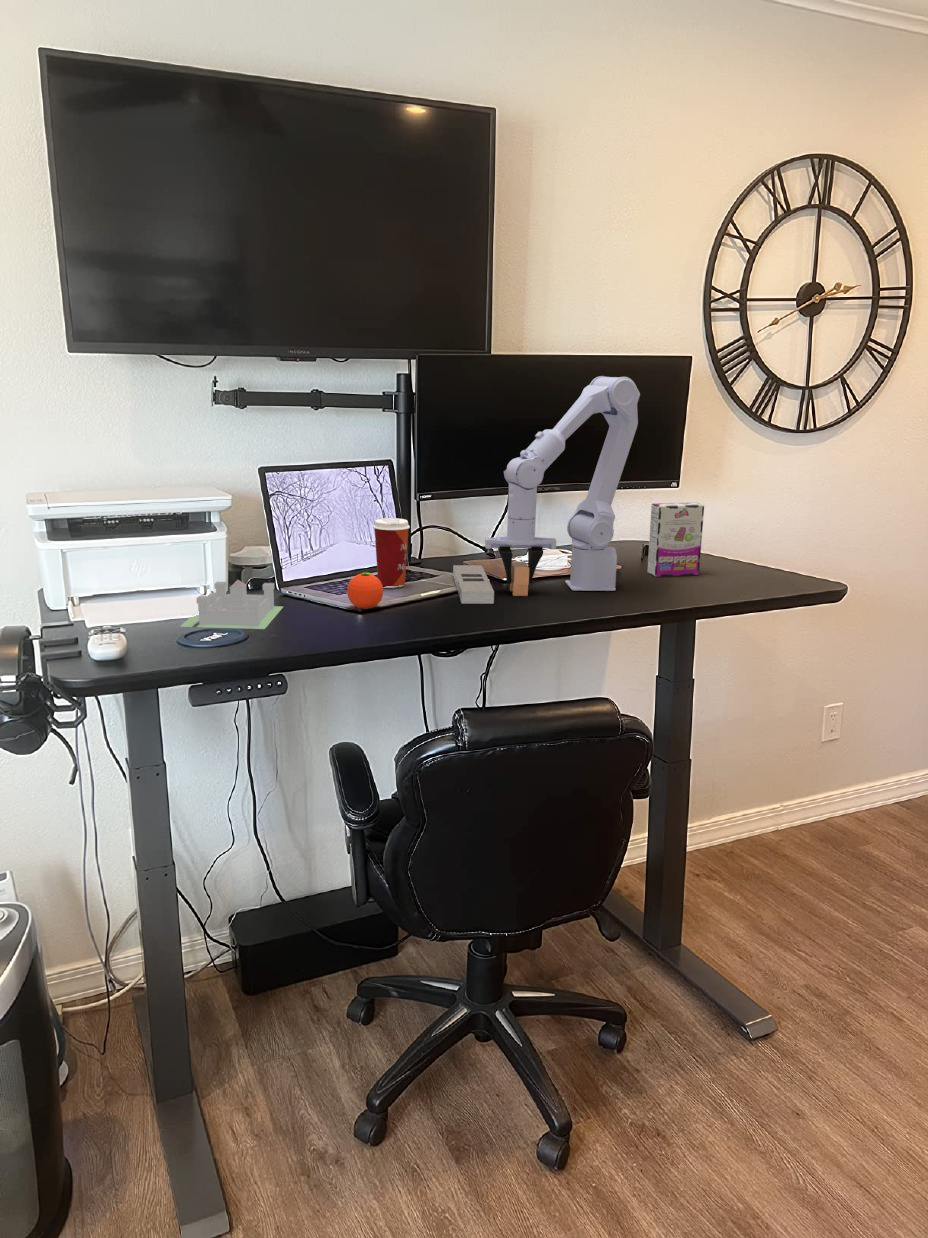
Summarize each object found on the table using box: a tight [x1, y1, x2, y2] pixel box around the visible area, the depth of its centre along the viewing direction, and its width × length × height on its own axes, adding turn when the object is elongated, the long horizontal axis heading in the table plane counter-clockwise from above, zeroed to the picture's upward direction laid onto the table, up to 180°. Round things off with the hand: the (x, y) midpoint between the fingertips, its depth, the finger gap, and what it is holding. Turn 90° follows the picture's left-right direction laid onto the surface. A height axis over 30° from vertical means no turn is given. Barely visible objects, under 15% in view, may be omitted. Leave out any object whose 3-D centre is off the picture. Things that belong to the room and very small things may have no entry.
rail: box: [452, 564, 495, 605], centre depth 189 cm, size 6×24×2 cm, turn 5°
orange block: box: [509, 560, 530, 597], centre depth 186 cm, size 3×6×6 cm, turn 5°
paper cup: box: [372, 517, 411, 586], centre depth 188 cm, size 8×8×14 cm
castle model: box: [179, 579, 284, 630], centre depth 164 cm, size 15×15×7 cm
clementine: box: [346, 571, 384, 610], centre depth 172 cm, size 8×7×7 cm
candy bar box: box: [647, 502, 705, 578], centre depth 205 cm, size 11×5×16 cm, turn 104°
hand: (519, 582), depth 186 cm, fingers open, 4 cm apart
